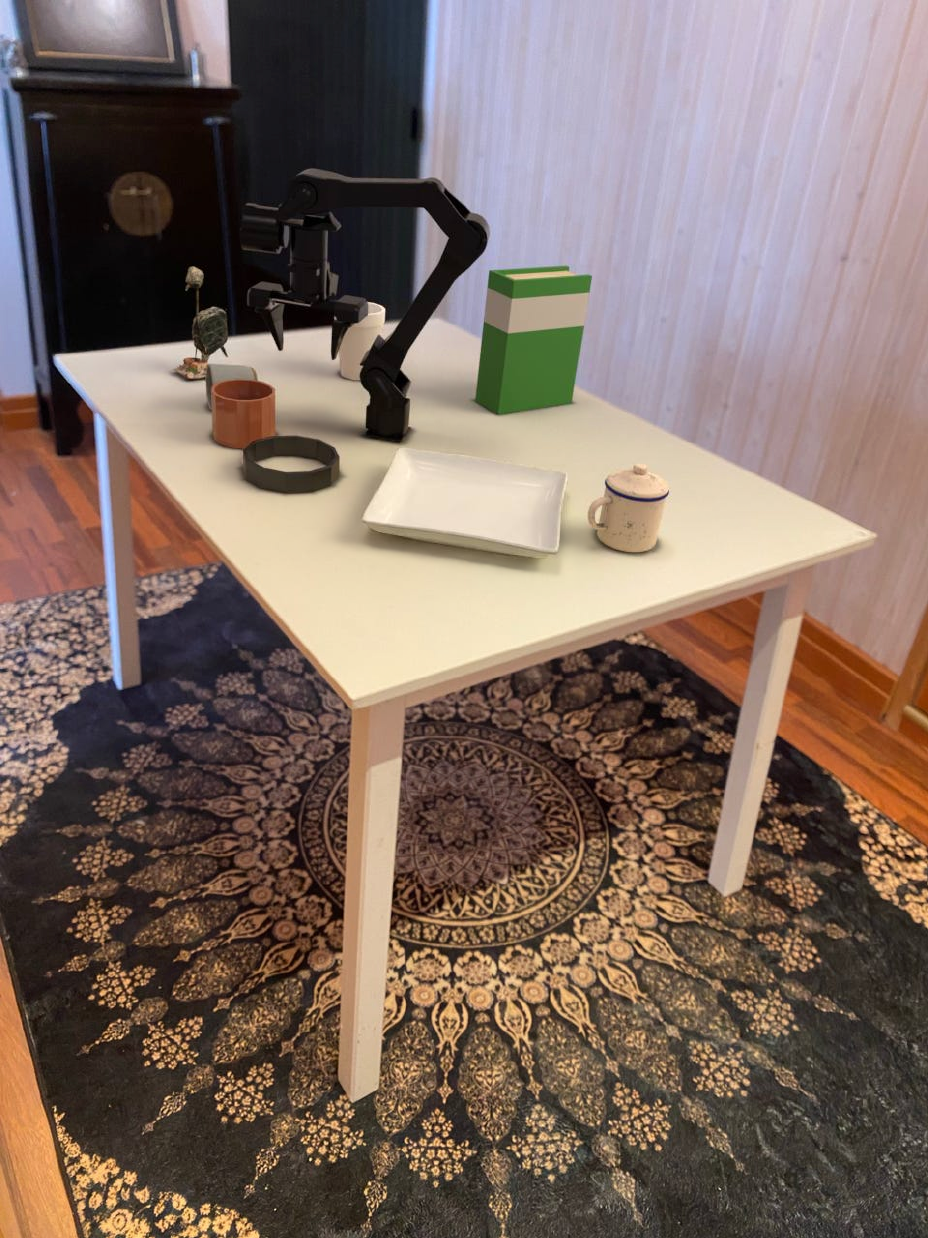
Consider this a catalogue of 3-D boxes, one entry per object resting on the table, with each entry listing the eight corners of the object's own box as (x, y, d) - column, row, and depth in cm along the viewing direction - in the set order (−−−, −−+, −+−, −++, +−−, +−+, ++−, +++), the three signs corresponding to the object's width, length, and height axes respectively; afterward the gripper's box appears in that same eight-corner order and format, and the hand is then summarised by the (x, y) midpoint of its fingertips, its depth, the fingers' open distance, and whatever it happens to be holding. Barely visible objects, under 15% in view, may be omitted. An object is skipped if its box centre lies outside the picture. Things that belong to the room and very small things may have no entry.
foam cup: (325, 377, 194) (326, 308, 187) (343, 363, 201) (346, 297, 194) (371, 386, 192) (374, 317, 185) (388, 372, 199) (392, 306, 192)
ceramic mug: (260, 413, 174) (260, 370, 170) (213, 416, 171) (211, 371, 167) (247, 393, 183) (246, 351, 179) (201, 395, 180) (199, 352, 176)
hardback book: (548, 390, 200) (566, 265, 187) (571, 402, 195) (592, 275, 182) (475, 400, 191) (489, 270, 178) (498, 414, 186) (514, 281, 173)
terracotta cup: (284, 431, 169) (284, 385, 165) (261, 453, 161) (260, 405, 156) (228, 421, 170) (227, 375, 166) (202, 442, 162) (200, 394, 158)
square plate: (358, 543, 138) (359, 518, 136) (397, 466, 161) (399, 443, 159) (554, 573, 136) (558, 548, 134) (565, 491, 160) (569, 468, 158)
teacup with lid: (633, 521, 153) (648, 449, 146) (669, 549, 146) (686, 475, 140) (566, 531, 147) (579, 457, 141) (600, 561, 141) (615, 484, 135)
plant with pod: (240, 376, 190) (238, 266, 179) (182, 383, 183) (177, 270, 173) (222, 362, 195) (219, 255, 184) (165, 369, 189) (159, 258, 178)
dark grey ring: (349, 463, 160) (350, 445, 159) (319, 499, 149) (319, 479, 147) (265, 448, 162) (265, 429, 161) (228, 482, 151) (228, 462, 149)
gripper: (380, 255, 164) (375, 350, 172) (272, 238, 166) (272, 332, 175) (359, 270, 154) (355, 369, 163) (244, 252, 157) (246, 350, 165)
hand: (307, 354), depth 167 cm, fingers open, 9 cm apart
